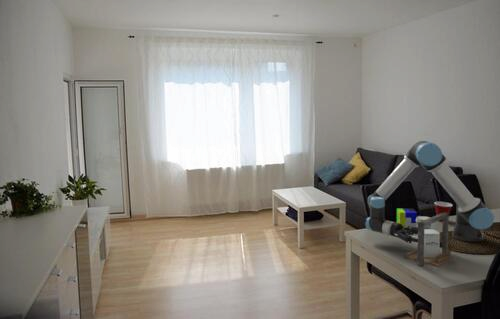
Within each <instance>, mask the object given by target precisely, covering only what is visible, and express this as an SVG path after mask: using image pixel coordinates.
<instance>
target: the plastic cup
mask: <svg viewBox="0 0 500 319" xmlns="http://www.w3.org/2000/svg"><path fill="white" fill-rule="evenodd" d="M433 204H434V206H435V207H434V208H435V213H436V215H439V214H441V213H444V212H447V213H449V215H450V214H451V210H452V207H453V204H452V203H450V202H446V201H435V202H433ZM436 215H435V216H436ZM438 222H440V223H443V219H442V220H439V221H438Z"/></svg>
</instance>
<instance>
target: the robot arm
mask: <svg viewBox="0 0 500 319" xmlns="http://www.w3.org/2000/svg"><path fill="white" fill-rule="evenodd" d="M403 156H404V157H403V158H404V159H403V160H402V161H401V162H400V163H399V164H398V165H397V166H396V167H395V169H394V170H392V172H391V173H390V175H388V176H387V178H386V179H385V180H384V181H382V183H381V185H379V187H378V188H377V189H376V190H375V191H374V192H373V193H372V194H370V195H369V196H368V197H367V204H368V206H369V212H370V213H369V214H370V215H369V217H367V218H366V219H365V220H366V221H365V228H366V229H367V230H369V231H372V232H375V233H380V234H382V235H387V236H391V237H395V238H398V239H400V240H401V241H404V242H405V243H409V244H412V242H413V243H416V244H418V236H414V235H418V227H410V226H408V228H407V227H405V228H404V227H403V226H402V224H400V223H397V221H390V220H386V219H385V206H386V203H385V202H386V200H387V199H388V198H389V197H390V196H391V195H392V194H393V193H394V192H395V190H396V189H397V188H398V187H399V186H400V185H401V184H402V183H403V181H405V179H406V178H407V177H409V175H410V174H411V173H412V172H413V170H414V169H415V168H419V167H420V166H422V167H423V169H424V170H425V171H426V172H427V173H428V172H430V173H432V175H433V176H434V177H435V179H436V180H437V181H438V183H439V184H440V185H441V186H442V187H443V189H444V190H445V192H447V193H448V195H449V196H450V197H451V198H452V200H453V201H454V202H455V204H456V214H455V215H456V219H455V220H456V222H455V225H454V227H453V230H452V232H451V233H452V235H451V236H452V237H453V238H454V239H456V240H460V241H464V242H468V243H469V242H471V243H473V242H474V243H478V242H482V241H483V240H484V233H483V230H486V229H488V228H490V227H491V226H492V225H493V224H494V221H495V215H494V213H493V212H492V210H490V208H487V207H486V205H485V204H484V203H483V202H482V200H481V198H479V197H474V196H473V194H472V193H471V192H470V190H468V188H467V187H466V186H465V184H464V183H463V182H462V181H461V179H460V178H459V177H458V176H457V175H456V173H455V172H454V171H453V170H452V168H450V165H448V164H447V158H446V156H445V155H444V154H443V151H442V149H441V147H439V145H438V144H436V143H433V142H429V141H425V140H420V141H417V142H416V143H414V144H413V145H412V147H410V148H409V149H408V151H407V152H406V153H405V154H404V155H403ZM424 229H428V228H424ZM424 245H426V239H424Z"/></svg>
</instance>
